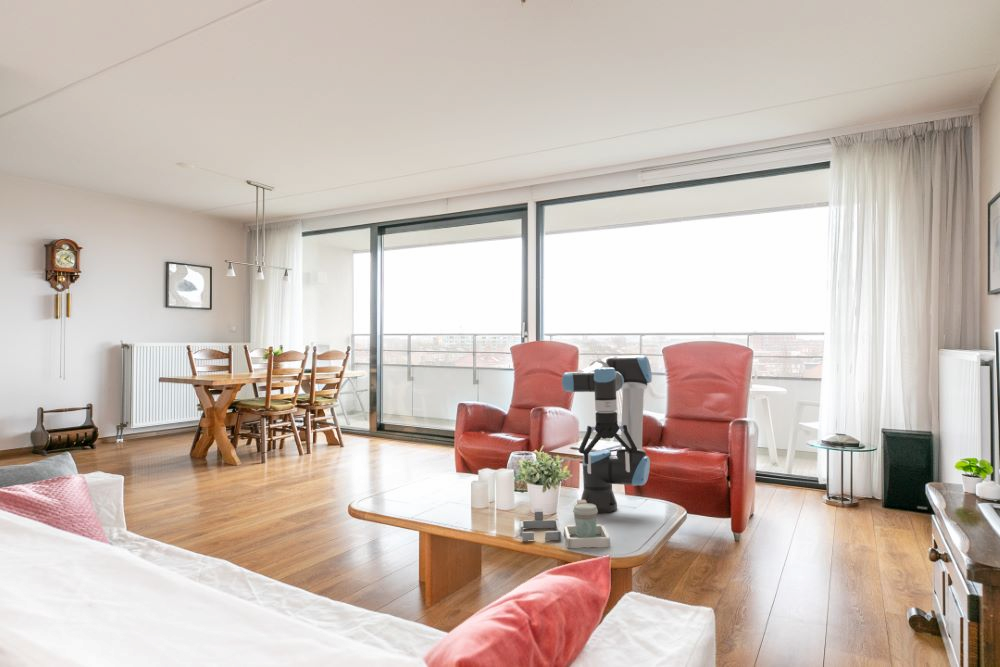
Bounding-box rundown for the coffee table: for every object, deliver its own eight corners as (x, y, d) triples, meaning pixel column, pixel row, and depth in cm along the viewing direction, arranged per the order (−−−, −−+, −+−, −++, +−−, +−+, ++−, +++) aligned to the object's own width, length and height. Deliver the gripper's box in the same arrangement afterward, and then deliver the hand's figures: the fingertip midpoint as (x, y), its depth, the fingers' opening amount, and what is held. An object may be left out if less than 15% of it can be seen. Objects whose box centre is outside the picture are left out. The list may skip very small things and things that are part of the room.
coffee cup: (568, 540, 206) (567, 505, 207) (586, 535, 212) (585, 501, 212) (586, 546, 200) (585, 510, 200) (604, 541, 205) (602, 505, 205)
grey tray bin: (563, 530, 218) (562, 500, 218) (601, 529, 217) (600, 499, 218) (568, 548, 199) (566, 514, 199) (610, 547, 198) (608, 513, 199)
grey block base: (520, 525, 226) (519, 509, 226) (557, 524, 226) (556, 508, 226) (521, 541, 207) (520, 524, 207) (561, 540, 207) (560, 523, 207)
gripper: (572, 414, 205) (574, 476, 205) (644, 411, 206) (646, 472, 206) (569, 411, 213) (571, 471, 213) (638, 408, 214) (641, 468, 214)
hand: (608, 472), depth 209 cm, fingers open, 13 cm apart
